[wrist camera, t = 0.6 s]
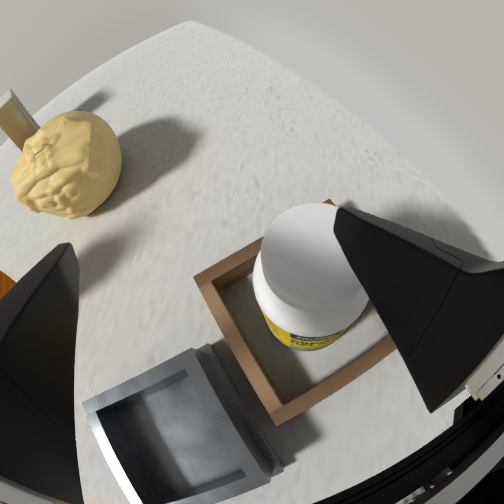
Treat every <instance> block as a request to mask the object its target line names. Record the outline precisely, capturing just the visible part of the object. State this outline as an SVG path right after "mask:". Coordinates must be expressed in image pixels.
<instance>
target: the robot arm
mask: <svg viewBox="0 0 504 504" xmlns="http://www.w3.org/2000/svg"><path fill="white" fill-rule="evenodd" d="M333 232H334V235H335V237H336V239H337V241H338V243H339V245H340V247H341V249H342V251H343V253H344V255H345V257H346V259H347V261H348V263H349V265H350V267H351V269H352V270H353V272H354V274H355V275H356V277H357V279H358V280H359V282H360V283H361V285H362V287H363V288H364V290H365V292H366V294H367V295H368V297H369V299H370V300H371V302H372V304H373V306H374V307H375V309H376V311H377V313H378V314H379V316H380V318H381V320H382V321H383V323H384V325H385V327H386V329H387V330H388V332H389V334H390V336H391V338H392V339H393V341H394V343H395V345H396V347H397V349H398V351H399V353H400V354H401V356H402V358H403V360H404V362H405V364H406V366H407V368H408V370H409V372H410V374H411V376H412V378H413V380H414V382H415V384H416V386H417V388H418V390H419V392H420V394H421V396H422V398H423V401H424V403H425V405H426V407H427V409H428V411H429V412H430V414H431V413H433V412H434V411H436V410H437V409H438V408H440V407H441V406H443V405H444V404H446V403H447V402H448V401H450V400H451V399H453V398H454V397H455V396H457V395H458V394H459V393H461V392H462V391H463V390H465V389H466V388H467V390H468V391H469V393H470V394H471V396H470V397H469V398H468V399H466V400H465V401H464V402H463V403H462V404H461V405H459V406H458V407H457V408H456V409H455V412H454V421H453V425H452V426H451V427H450V428H448V429H447V430H446V431H444V432H443V433H442V434H440V435H439V436H438V437H436V438H435V439H433V440H432V441H431V442H429V443H428V444H426V445H425V446H423V447H422V448H420V449H419V450H417V451H416V452H414V453H413V454H411V455H409V456H408V457H406V458H405V459H403V460H401V461H400V462H398V463H396V464H395V465H393V466H391V467H389V468H388V469H386V470H384V471H382V472H380V473H379V474H377V475H375V476H373V477H371V478H369V479H367V480H365V481H363V482H361V483H359V484H357V485H355V486H353V487H351V488H349V489H346V490H344V491H342V492H340V493H338V494H335V495H333V496H330V497H328V498H326V499H323V500H321V501H318V502H316V503H313V504H395V503H397V502H399V501H400V500H402V499H403V498H405V497H406V496H408V495H410V494H411V493H413V492H414V491H416V490H417V489H419V488H420V487H421V486H423V487H424V489H425V492H423V493H421V494H419V495H417V496H415V497H414V498H412V499H411V501H412V502H411V503H409V504H504V261H503V262H493V261H489V260H486V259H483V258H481V257H478V256H476V255H473V254H471V253H468V252H466V251H463V250H460V249H458V248H455V247H453V246H450V245H448V244H445V243H443V242H441V241H438V240H436V239H433V238H430V237H428V236H426V235H423V234H421V233H418V232H416V231H413V230H411V229H408V228H406V227H403V226H401V225H398V224H395V223H393V222H390V221H387V220H385V219H382V218H379V217H377V216H374V215H371V214H368V213H366V212H363V211H360V210H357V209H354V208H351V207H339V208H338V209H337V211H336V216H335V221H334V226H333ZM79 272H80V270H79V264H78V261H77V258H76V255H75V252H74V249H73V246H72V244H71V243H62V244H59V245H57V246H56V247H55V248H54V249H53V250H52V251H51V252H49V253H48V254H47V255H46V256H45V257H44V258H43V259H42V260H40V261H39V262H38V263H37V264H36V265H35V266H34V267H33V268H32V269H31V270H30V271H29V272H27V273H26V274H25V275H24V276H23V277H22V278H21V279H20V280H19V281H18V282H17V283H16V284H15V285H14V286H13V287H12V288H11V289H10V290H9V291H8V292H7V293H6V294H5V295H4V296H3V297H2V298H1V299H0V504H84V501H83V495H82V489H81V482H80V475H79V467H78V459H77V448H76V440H75V439H76V437H75V419H74V365H75V346H76V333H77V322H78V311H79Z"/></svg>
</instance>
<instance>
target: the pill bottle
mask: <svg viewBox="0 0 504 504" xmlns="http://www.w3.org/2000/svg"><path fill="white" fill-rule="evenodd" d="M338 208H339V207H337V206H334V205H331V204H327V203H319V202H313V203H304V204H300V205H296V206H294V207H291V208H289V209H287V210H285V211H284V212H282V213H281V214H280V215H278V216H277V217H276V218H275V219H274V220H273V221H272V223H271V224H270V225H269V227H268V228H267V230H266V232H265V234H264V237H263V240H262V244H261V250H260V251H259V253H258V256H257V258H256V261H255V265H254V270H253V286H254V292H255V296H256V299H257V302H258V304H259V306H260V308H261V311H262V313H263V315H264V317H265V320H266V322H267V324H268V326H269V328H270V330H271V332H272V333H273V335H274V336H275V337H276V338H277V339H278V340H279V341H280V342H281V343H283V344H284V345H286V346H287V347H289V348H292V349H295V350H299V351H315V350H319V349H322V348H324V347H326V346H328V345H330V344H332V343H333V342H334V341H335V340H337V339H338V338H339V337H340V336H341V335H342V334H343V333H344V332H345V331H346V330H347V328H348V327H349V326H350V325H351V324H352V323H353V322H354V321H355V320H356V319H357V318H358V317H359V316H360V314H361V313H362V312H363V310H364V308H365V306H366V305H367V302H368V300H369V297H368V295H367V294H366V292H365V290H364V288H363V287H362V285H361V283H360V282H359V280H358V279H357V277H356V275H355V274H354V272H353V270H352V269H351V267H350V265H349V263H348V261H347V259H346V257H345V255H344V253H343V251H342V249H341V247H340V245H339V243H338V241H337V239H336V237H335V235H334V232H333V226H334V221H335V216H336V211H337V209H338Z"/></svg>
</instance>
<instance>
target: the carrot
mask: <svg viewBox="0 0 504 504" xmlns="http://www.w3.org/2000/svg"><path fill="white" fill-rule="evenodd" d="M15 284H16V282H15V281H13V280H12V279H11V278H10V277H9V276H7V275H6V274H4V273H3V272H2V271H0V299H1V298H2V297H3V296H4V295H5V294H6V293H7V292H8V291H9V290H10V289H11V288H12V287H13V286H14V285H15Z"/></svg>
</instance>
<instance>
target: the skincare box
mask: <svg viewBox="0 0 504 504" xmlns="http://www.w3.org/2000/svg"><path fill="white" fill-rule="evenodd" d="M0 127H1V128H2V130H3V131H4V132H5V133H6V134H7V135H8V136H9V138H10V139H11V140H12V141H13V142H14V143H15V144H16V145H17V147H18V148H19V149H20V150H21V151H23V147H24V143H25V141H26V140H27V139H28V138H30V137H32V136H33V135H34V134H35V133H36V132H37V131H38V130H39V129H40V126H39V125H38V124H37V123H36V121H35V120H34V119H33V118H32V116H31V115H30V114H29V112H28V111H27V110H26V108H25V107H24V106H23V104H22V103H21V102H20V101H19V99H18V98H17V96H16V95H15V94H14V92H13V91H12V90H11V89H10V90H9V91H7V92H6V93H5V94H4V95H3V96H2V97H1V98H0Z"/></svg>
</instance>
